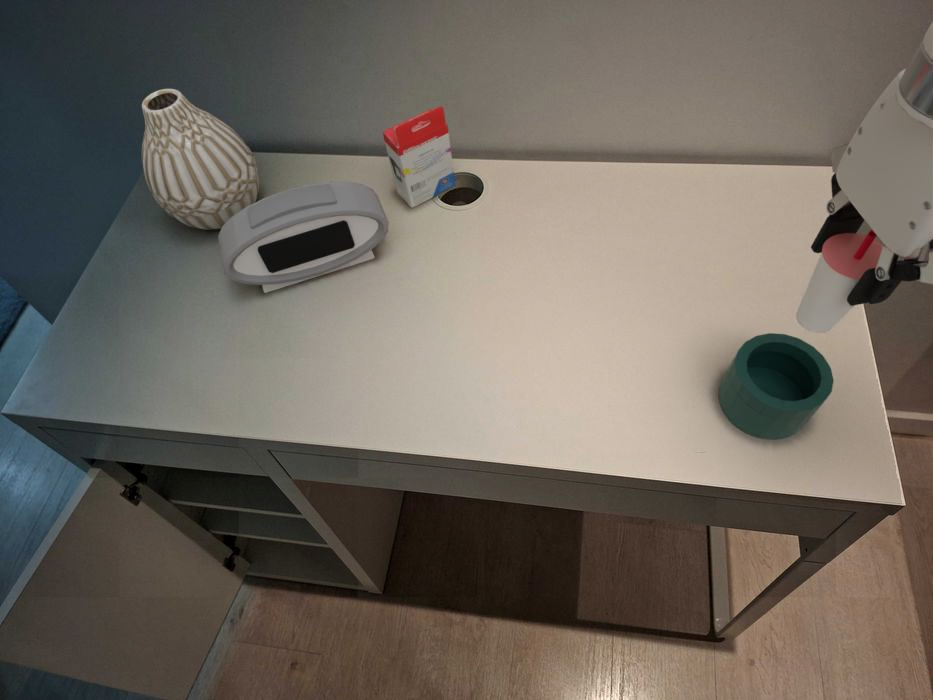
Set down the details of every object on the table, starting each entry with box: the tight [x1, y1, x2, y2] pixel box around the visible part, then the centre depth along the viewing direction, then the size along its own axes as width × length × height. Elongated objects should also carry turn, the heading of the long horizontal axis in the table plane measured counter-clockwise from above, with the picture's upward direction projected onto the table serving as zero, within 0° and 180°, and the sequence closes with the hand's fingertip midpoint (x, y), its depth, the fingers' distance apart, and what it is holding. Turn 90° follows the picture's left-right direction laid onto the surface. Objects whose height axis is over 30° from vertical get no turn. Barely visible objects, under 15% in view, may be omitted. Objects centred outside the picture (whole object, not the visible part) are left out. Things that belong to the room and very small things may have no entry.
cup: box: [795, 229, 883, 334], centre depth 52 cm, size 5×5×12 cm
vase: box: [141, 88, 260, 231], centre depth 89 cm, size 16×16×20 cm
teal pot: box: [718, 332, 835, 440], centre depth 67 cm, size 10×10×7 cm
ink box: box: [382, 105, 456, 209], centre depth 89 cm, size 8×5×15 cm, turn 123°
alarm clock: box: [217, 181, 389, 294], centre depth 83 cm, size 23×6×13 cm, turn 110°
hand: (846, 272), depth 52 cm, fingers closed on cup, 5 cm apart
